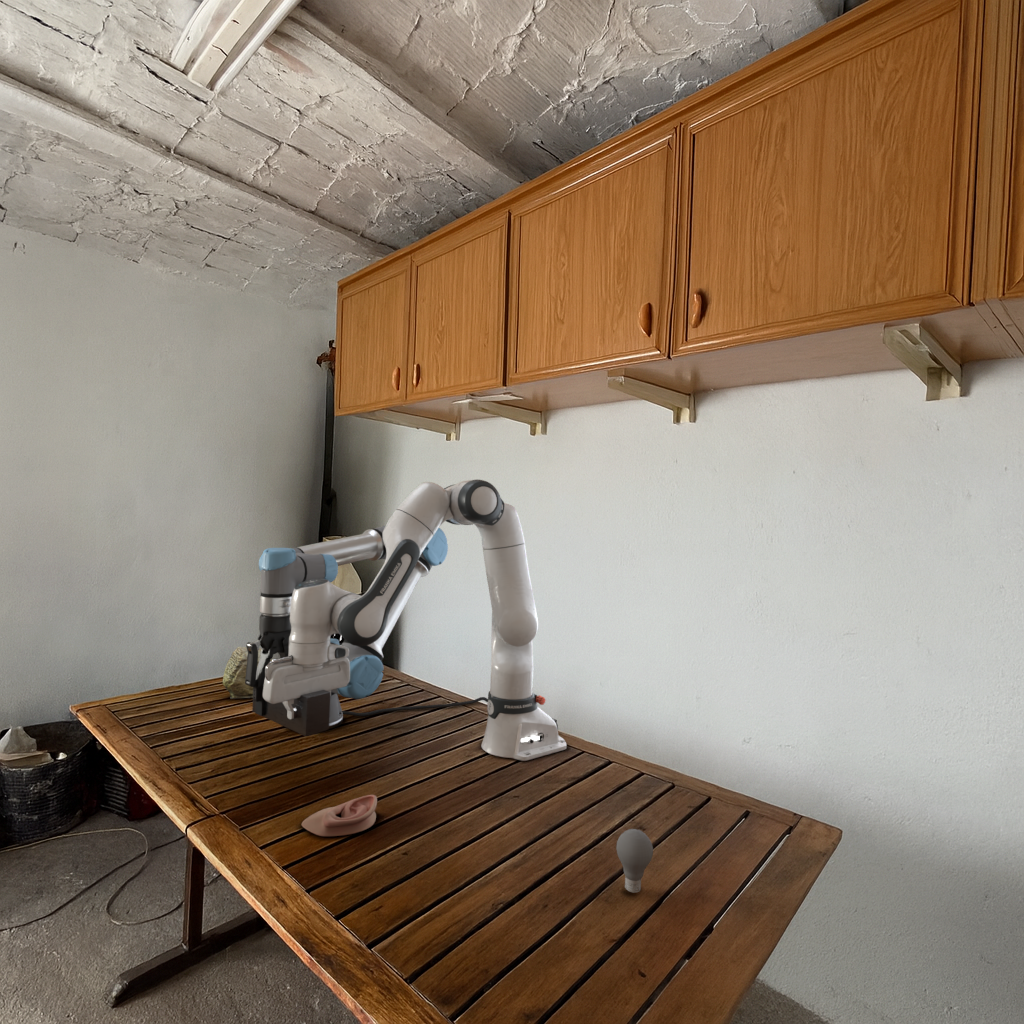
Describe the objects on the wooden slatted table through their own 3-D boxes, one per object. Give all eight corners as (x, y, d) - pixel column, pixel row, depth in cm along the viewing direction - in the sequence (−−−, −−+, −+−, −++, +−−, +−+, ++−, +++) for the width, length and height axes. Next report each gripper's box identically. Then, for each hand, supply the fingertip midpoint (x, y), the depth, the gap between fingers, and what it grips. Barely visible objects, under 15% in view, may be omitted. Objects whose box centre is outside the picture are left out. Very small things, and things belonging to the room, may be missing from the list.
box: (252, 711, 150) (253, 676, 150) (275, 706, 155) (276, 671, 155) (305, 736, 136) (306, 697, 136) (329, 729, 141) (330, 692, 141)
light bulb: (610, 879, 108) (613, 822, 108) (644, 879, 109) (647, 822, 109) (619, 902, 102) (622, 840, 102) (655, 901, 103) (658, 840, 103)
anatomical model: (293, 811, 119) (323, 784, 130) (292, 831, 119) (323, 803, 130) (359, 821, 116) (384, 793, 128) (358, 842, 116) (383, 813, 128)
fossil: (218, 695, 195) (220, 647, 195) (278, 685, 208) (279, 640, 207) (228, 703, 189) (230, 653, 188) (289, 692, 201) (290, 645, 201)
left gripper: (246, 621, 140) (243, 725, 140) (320, 611, 154) (317, 705, 155) (229, 615, 144) (226, 716, 145) (303, 607, 159) (299, 698, 160)
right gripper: (274, 663, 131) (271, 729, 131) (355, 647, 147) (352, 707, 147) (258, 657, 135) (255, 722, 135) (338, 643, 151) (336, 700, 151)
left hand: (273, 710), depth 150 cm, fingers closed on box, 6 cm apart
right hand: (307, 714), depth 141 cm, fingers closed on box, 6 cm apart
